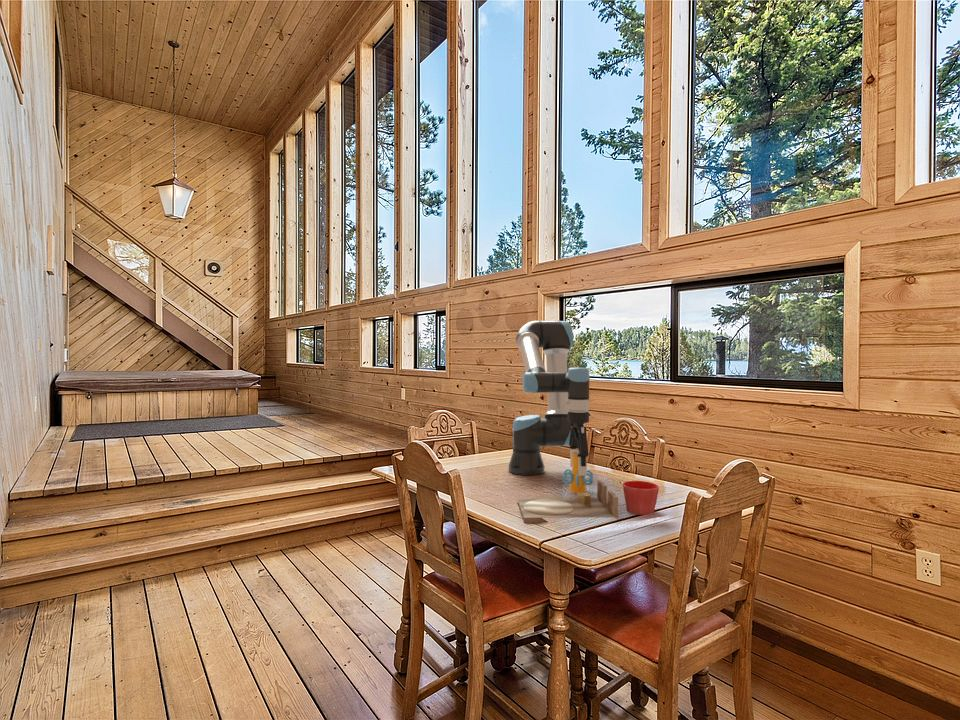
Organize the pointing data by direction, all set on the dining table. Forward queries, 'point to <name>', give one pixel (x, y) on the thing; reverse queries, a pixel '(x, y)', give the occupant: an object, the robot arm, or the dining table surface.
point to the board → (569, 506)
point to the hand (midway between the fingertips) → (578, 471)
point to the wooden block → (584, 498)
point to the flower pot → (640, 496)
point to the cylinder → (576, 477)
